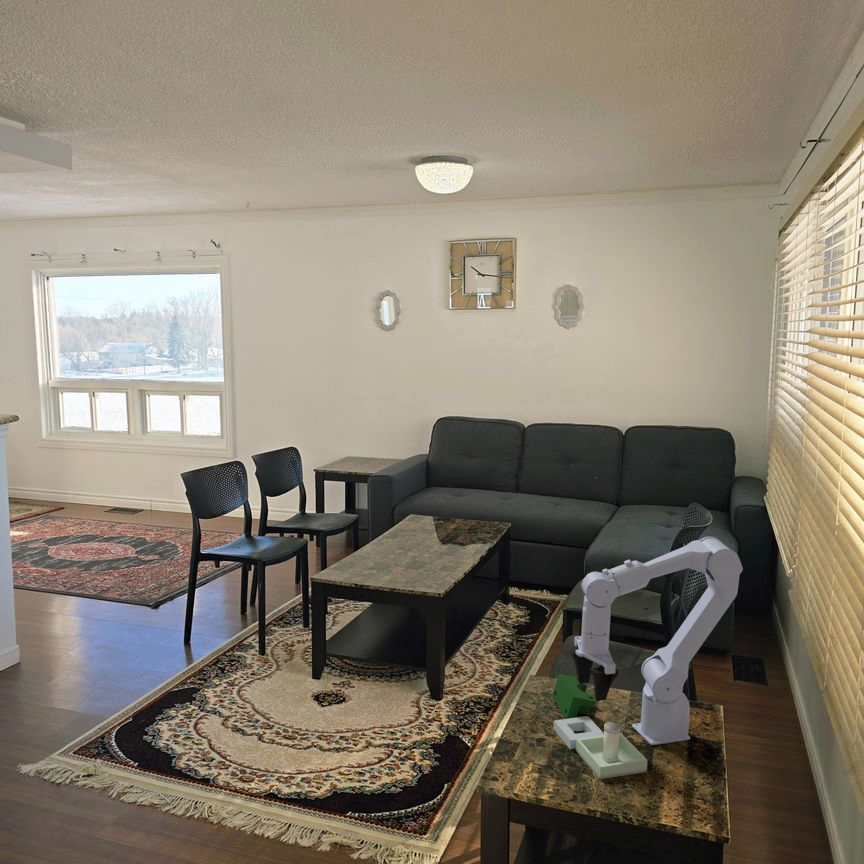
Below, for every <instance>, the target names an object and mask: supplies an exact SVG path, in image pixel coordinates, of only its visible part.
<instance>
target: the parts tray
mask: <svg viewBox="0 0 864 864" xmlns="http://www.w3.org/2000/svg"><path fill="white" fill-rule="evenodd" d="M603 742H604V735H603V736H596V737H589V738H581V739H576V749H575V752H576V753H577V754H578V755H579V756H580V757H581V759H582V760H583V761H584V763H585V764H586V765H587V766H588V767H589V769H590V770H591V771H592V772H593V773H594V774H595V776H596V777H597V778H598V780H603V779H610V778H615V777H617V778H618V777H623V776H628V775H629V776H630V775H635V774H636V775H637V774H642V773H647V772H648V758H646V757H645V756H644V755H643V753H641V752H640V751H639V750H638V749H637V747H636V746H634V745H633V744H632V742H630V740H628V738H626V737H625V736H624V735H623V733H621V732H620V736H619V751H618V762H616V763H608V762H606V761H604V760H603V759H602V754H603Z"/></svg>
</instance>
